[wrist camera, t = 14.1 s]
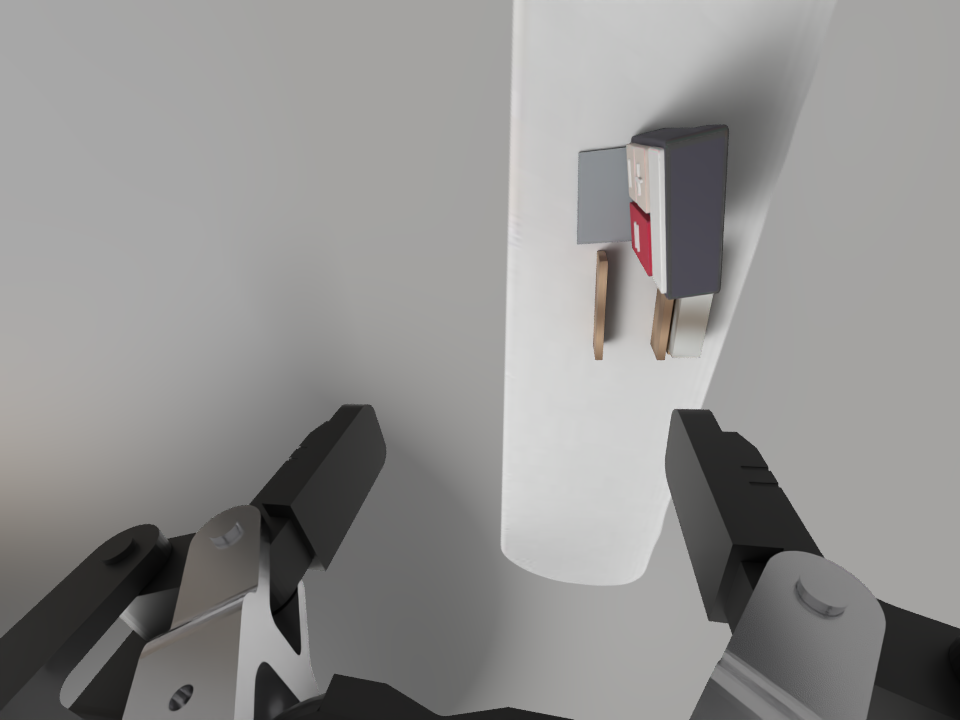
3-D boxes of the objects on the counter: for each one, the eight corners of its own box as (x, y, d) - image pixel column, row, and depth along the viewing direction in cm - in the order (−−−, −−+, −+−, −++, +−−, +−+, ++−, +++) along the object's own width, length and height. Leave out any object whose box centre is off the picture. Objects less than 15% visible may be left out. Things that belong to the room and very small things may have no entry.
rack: (597, 251, 43) (600, 261, 39) (670, 247, 41) (680, 257, 38) (593, 344, 48) (595, 359, 45) (657, 343, 47) (664, 360, 43)
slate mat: (578, 152, 38) (578, 152, 38) (711, 137, 36) (712, 137, 35) (577, 243, 43) (577, 244, 42) (694, 236, 40) (695, 236, 40)
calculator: (622, 138, 37) (652, 143, 24) (671, 125, 35) (730, 123, 23) (629, 251, 42) (657, 304, 29) (672, 243, 40) (721, 294, 28)
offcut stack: (673, 253, 41) (686, 268, 37) (701, 251, 41) (718, 267, 36) (661, 339, 47) (671, 362, 42) (685, 339, 46) (699, 362, 42)
